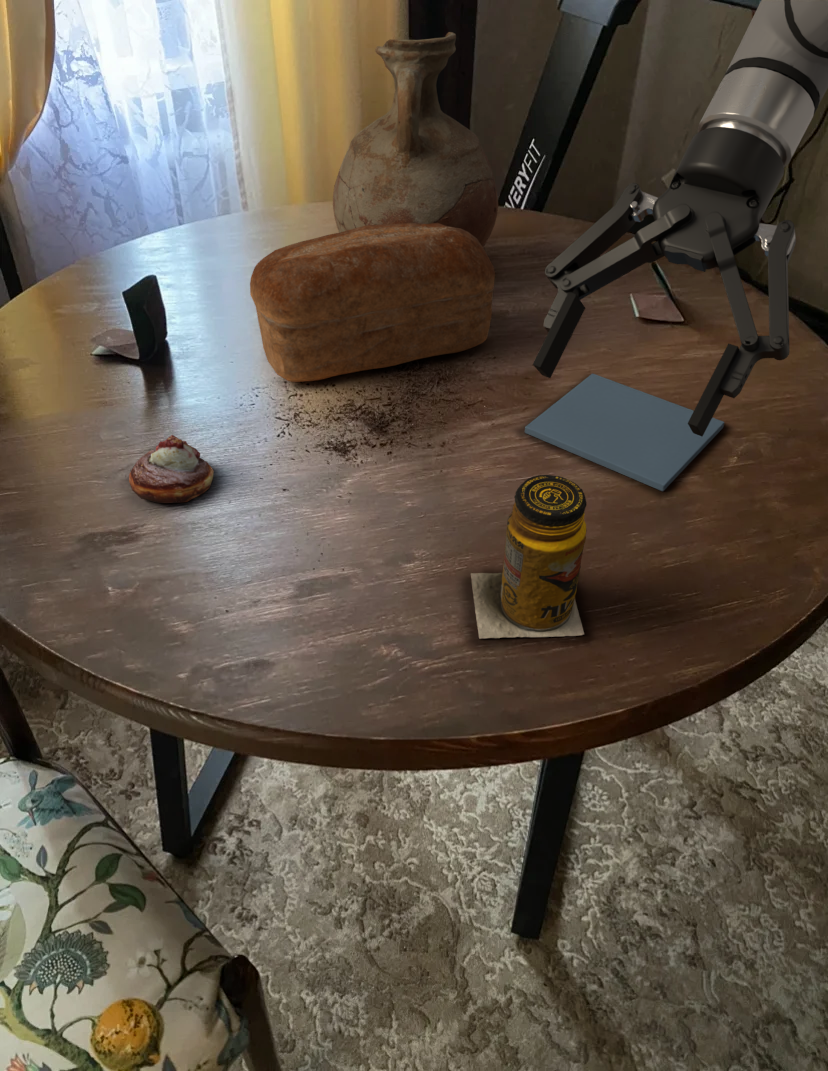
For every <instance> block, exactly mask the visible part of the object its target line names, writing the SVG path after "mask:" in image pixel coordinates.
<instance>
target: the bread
mask: <svg viewBox="0 0 828 1071" xmlns="http://www.w3.org/2000/svg"><path fill="white" fill-rule="evenodd" d="M495 277H496V272H495V267H494V265H493V263H492V261H491V260H490V257H489V256H488V253H487V252H486V250H485V248H484V247H482V245H481V244H480V242H479V241H478V239H477V238H476V237H474V236H473V235H471V234H470V233H469V232H467V231H465V230H463V229H460V228H455V227H449V226H445V225H442V224H439V223H432V224H417V223H407V224H391V225H366V226H362V227H358V228H355V229H351V230H347V231H344V232H340V233H339V232H335V233H331V234H326V235H322V236H319V237H314V238H311V239H306V240H302V241H299V242H295V243H291V244H288V245H285V246H283V247H280V248H278V249H277V248H276V249H274V250H273V251H271V252H270V253H269V254H267V255H266V256H264V257H263V258H261V259H260V261H258V262H257V263H256V265H254V268H253V271H252V274H251V276H250V281H249V291H250V292H249V293H250V295H249V296H250V297H251V299H252V301H253V303H254V307H255V311H256V317H257V321H258V322H257V323H258V326H259V331H260V336H261V342H262V343H261V344H262V348H263V351H264V354H265V357H266V360H267V362H268V364H269V365H270V366H271V368H272V369H273V371H274V372H275V373H276V375H278V376H279V377H281V378H282V379H284V380H286V381H287V382H291V383H292V382H293V383H299V382H301V383H302V382H313V381H314V382H315V381H321V380H326V379H328V378H333V377H337V376H341V375H346V374H352V373H356V372H362V371H368V370H373V369H374V370H375V369H382V368H388V367H394V366H397V365H401V364H405V363H409V362H414V361H417V360H422V359H427V358H431V357H436V356H443V355H451V354H456V353H460V352H463V351H468V350H470V349H473V348H475V347H478V346H479V345H481V344H483V343H484V342H485V341H486V340H487V339H488V336H489V330H490V326H491V321H492V316H493V296H494V295H493V294H494V288H495Z"/></svg>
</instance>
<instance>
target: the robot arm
mask: <svg viewBox="0 0 828 1071" xmlns="http://www.w3.org/2000/svg"><path fill="white" fill-rule="evenodd" d="M827 90H828V0H759V4H758V6H757V8H756V10H755V12H754V15H753V17H752V18H751V20H750V23H749V24H748V26H747V29H746V30H745V33H744V35H743V37H742V38H741V40H740V43H739V45H738V47H737V49H736V51H735V52H734V55H733V56H732V59H731V60H730V63H729V65H728V67H727V69H726V71H725V74H724V75H723V77H722V79H721V81H720V83H719V85H718V87H717V88H716V91H715V92H714V94H713V97H712V98H711V100H710V102H709V104H708V106H707V108H706V110H705V112H704V114H703V115H702V118H701V119H700V121H699V123H698V126H697V133H695V134H694V135H693V137H692V138H691V140H690V141H689V144H688V146H687V148H686V150H685V152H684V153H683V156H682V157H681V160H680V162H679V164H678V166H677V168H676V170H675V172H674V173H673V176H672V179H671V181H670V184H669V186H668V188H667V189H666V190H665V191H664V192H663V193H662V194H661V195H660V196H658V197H657V196H655V195H653V194H650V193H647V192H645V191H642V189H641V187H640V185H639V183H637V182H631V183H629V184H627V185H626V186H625V188H624V190H623V191H622V193H621V194H620V196H619V197H618V199H617V201H616V202H615V204H614V205H613V206H612V207H611V208H610V209H609V210H607V212H605V214H603V215H602V216H601V217H600V218H598V219H597V221H595V223H593V224H592V225H591V226H590V227H589V228H588V229H586V230H585V231H584V232H583V233H581V235H580V236H579V237H578V238H577V239H575V240H574V241H573V242H571V244H570V245H569V246H568V247H566V248H565V249H564V250H563V251H562V252H561V253H559V255H558V256H556V257H555V258H554V259H552V261H551V262H550V263H549V264H548V265H546V266H545V269H544V274H545V276H546V277H547V279H548V280H549V281H550V283H551V284H552V286H553V287H554V288H555V289H557V293H556V295H555V298H554V299H553V302H552V304H551V305H550V307H549V310H548V311H547V314H546V316H545V317H544V319H543V328H544V329H545V330H546V331H547V334H546V336H545V339H544V340H543V342H542V344H541V346H540V348H539V350H538V352H537V355H536V356H535V358H534V361H533V362H532V366H533V367H534V368H535V369H536V370H537V371H538V372H539V373H540V375H541V376H542V377H545V378H548V379H551V378H552V376H553V375H554V372H555V370H556V368H557V366H558V365H559V362H560V361H561V358H562V356H563V354H564V352H565V350H566V348H567V347H568V344H569V342H570V340H571V338H572V336H573V334H574V333H575V330H576V328H577V326H578V324H579V322H580V320H581V318H582V316H583V315H584V312H585V310H586V306H585V305H584V303H583V302H582V300H583V299H584V298H586V297H588V296H589V295H592V294H593V293H595V292H597V291H598V290H600V289H603V288H604V287H605V286H607V285H609V284H612V283H613V282H615V281H616V280H618V279H620V278H621V277H623V276H625V275H627V274H629V273H630V272H633V271H634V270H636V269H638V268H639V267H641V266H643V265H644V264H647V263H649V264H652V263H654V262H656V261H658V260H660V259H661V258H663V257H665V258H666V259H667V262H669V263H672V264H675V265H688V266H690V267H691V268H692V269H694V270H696V271H700V272H703V273H706V271H707V270H712V269H713V270H714V269H715V268H718V270H719V273H720V277H721V281H722V283H723V287H724V289H725V294H726V297H727V300H728V303H729V307H730V310H731V313H732V317H733V320H734V324H735V327H736V331H737V333H738V336H739V341H740V346H738V345H735V344H731V343H728V344H727V346H726V347H725V349H724V351H723V353H722V355H721V357H720V359H719V361H718V363H717V365H716V366H715V369H714V371H713V373H712V375H711V376H710V379H709V380H708V382H707V384H706V386H705V388H704V390H703V392H702V394H701V396H700V398H699V400H698V401H697V404H696V406H695V408H694V409H693V411H694V412H693V414H692V416H691V418H690V419H689V421H688V425H689V427H690V428H691V430H692V432H693V433H694V434H697V435H699V436H702V437H703V435H704V433H705V431H706V429H707V427H708V425H709V423H710V421H711V419H712V418H714V415H715V414H716V411H717V409H718V407H719V406H720V404H721V402H722V400H723V398H724V396H726V397H728V398H731V399H735V398H737V397H738V395H740V394H741V392H742V390H743V388H744V386H745V384H746V383H747V380H748V378H749V377H750V374H751V373H752V371H753V369H754V366H755V365H756V364H757V362H758V361H760V360H764V359H774V360H776V361H783V360H786V359H787V358H788V357H789V355H790V352H791V351H790V313H789V312H790V311H789V305H790V304H789V268H788V267H789V266H788V265H789V262H790V260H791V257H792V254H793V252H794V250H795V247H796V245H797V244H796V243H797V238H796V227H795V222H793V221H792V220H790V219H784V220H781V221H780V222H778V224H770V223H763V222H761V220H762V217H763V215H764V214H765V212H766V210H767V208H768V206H769V204H770V202H771V200H772V198H773V196H774V194H775V193H776V190H777V188H778V186H779V184H780V182H781V180H782V178H783V176H784V174H785V167H786V166H788V165H789V164H790V162H791V161H792V158H793V156H794V154H795V152H796V150H797V149H798V147H799V145H800V142H801V141H802V139H803V137H804V136H805V133H806V131H807V129H808V127H809V125H810V123H811V122H812V119H813V118H814V115H815V114H816V112H817V110H818V108H819V105H820V103H821V102H822V100H823V99H824V96H825V94H826V93H827ZM648 215H653V216H652V217H653V221H652V222H651V223H649V224H647V225H646V226H644V227H642V228H640V229H639V230H637V231H636V232H635V234H634V236H633V237H632V238H630V239H627V240H626V241H624V242H623V243H621V244H619V245H618V246H616V247H614V248H612V249H610V248H611V247H612V246H613V245H614V244H615V243H617V242H618V241H619V240H620V239H621V238H622V237H623V236H624V235H625V234H627V233H628V232H629V230H630V229H631V228H632V227H633V226H634V225H635V224H636V223H641V222H643V221H644V218H645V217H646V216H648ZM756 242H759V243H760V244H761V246H760V247H761V251H762V254H763V255H764V256H766V257H767V277H768V278H767V282H768V283H767V284H768V285H767V286H768V333H769V334H768V335H759V334H758V331H757V328H756V325H755V322H754V321H755V320H754V318H753V314H752V312H751V308H750V305H749V302H748V298H747V296H746V291H745V288H744V285H743V282H742V279H741V275H740V272H739V269H738V265H737V262H736V258H735V256H736V255H738V254H740V253H741V252H744V251H745V250H746V249H748V248H749V247H751V246H752V245H754V244H755V243H756ZM609 249H610V250H609ZM608 250H609V251H608ZM606 251H607V252H606Z"/></svg>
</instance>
